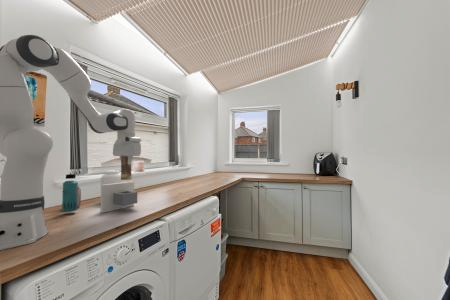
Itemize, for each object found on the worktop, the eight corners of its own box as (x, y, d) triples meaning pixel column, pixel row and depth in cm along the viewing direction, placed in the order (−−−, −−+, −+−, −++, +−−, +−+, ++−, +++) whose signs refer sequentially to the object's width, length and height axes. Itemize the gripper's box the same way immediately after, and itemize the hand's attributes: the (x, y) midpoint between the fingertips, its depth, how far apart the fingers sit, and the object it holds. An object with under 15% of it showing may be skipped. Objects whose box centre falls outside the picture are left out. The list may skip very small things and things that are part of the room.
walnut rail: (125, 180, 113) (125, 149, 113) (120, 179, 115) (120, 150, 115) (131, 179, 116) (131, 150, 116) (127, 178, 118) (127, 150, 118)
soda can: (72, 210, 115) (72, 187, 115) (61, 209, 116) (62, 187, 116) (83, 207, 121) (84, 186, 122) (73, 206, 123) (73, 185, 123)
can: (96, 202, 134) (97, 170, 134) (116, 199, 144) (116, 169, 145) (106, 205, 127) (107, 171, 127) (126, 201, 137) (126, 170, 138)
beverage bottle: (70, 211, 112) (71, 173, 112) (80, 212, 110) (81, 173, 111) (58, 214, 105) (59, 174, 106) (69, 215, 104) (70, 174, 105)
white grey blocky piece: (113, 215, 105) (114, 186, 105) (100, 211, 111) (101, 184, 111) (144, 207, 120) (144, 182, 121) (131, 205, 126) (131, 181, 127)
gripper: (109, 139, 118) (109, 164, 118) (132, 138, 108) (132, 165, 107) (120, 140, 124) (120, 164, 124) (143, 138, 113) (143, 164, 113)
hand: (126, 164), depth 115 cm, fingers closed on walnut rail, 4 cm apart
